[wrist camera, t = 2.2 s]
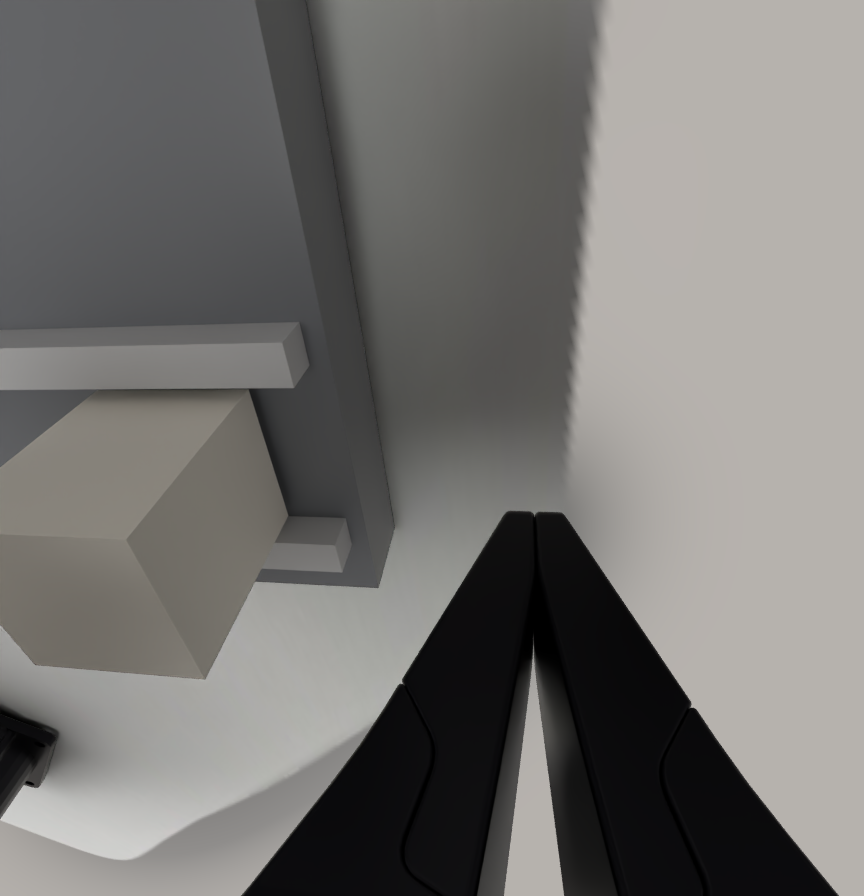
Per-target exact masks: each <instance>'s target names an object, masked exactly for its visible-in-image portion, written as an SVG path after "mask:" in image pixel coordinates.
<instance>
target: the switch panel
mask: <svg viewBox="0 0 864 896" xmlns="http://www.w3.org/2000/svg"><path fill="white" fill-rule="evenodd" d="M222 389H249V393H250V396H251V399H252V402H253V405H254V408H255V412H256V415H257V418H258V421H259V424H260V427H261V431H262V434H263V437H264V440H265V443H266V446H267V450H268V453H269V456H270V459H271V462H272V465H273V468H274V472H275V475H276V478H277V481H278V484H279V487H280V491H281V494H282V497H283V500H284V503H285V506H286V510H287V513H288V517H287V519H286V521H285V523H284V525H283V527H282V529H281V531H280V533H279V535H278V537H277V539H276V541H275V543H274V545H273V547H272V549H271V551H270V553H269V555H268V557H267V559H266V561H265V563H264V565H263V567H262V569H261V570H260V572H259V574H258V576H257V578H256V580H255V581H256V582H275V583H294V584H312V585H331V586H350V587H369V588H379V584H380V580H381V577H382V573H383V569H384V566H385V562H386V558H387V555H388V551H389V547H390V544H391V540H392V536H393V533H394V529H395V527H394V521H393V515H392V509H391V503H390V497H389V492H388V486H387V480H386V474H385V468H384V462H383V456H382V450H381V444H380V438H379V432H378V426H377V420H376V414H375V409H374V403H373V397H372V391H371V385H370V379H369V373H368V367H367V361H366V355H365V349H364V343H363V337H362V332H361V326H360V320H359V314H358V308H357V302H356V296H355V290H354V284H353V278H352V272H351V266H350V260H349V255H348V249H347V243H346V237H345V231H344V225H343V219H342V213H341V207H340V201H339V195H338V189H337V183H336V177H335V172H334V166H333V160H332V154H331V148H330V142H329V136H328V130H327V124H326V118H325V112H324V106H323V100H322V95H321V89H320V83H319V77H318V71H317V65H316V59H315V53H314V47H313V41H312V35H311V29H310V23H309V17H308V12H307V6H306V0H0V467H1V466H2V465H4V464H5V463H6V462H8V461H9V460H10V459H11V458H13V457H14V456H15V455H16V454H18V453H19V452H20V451H21V450H23V449H24V448H25V447H26V446H28V445H29V444H30V443H31V442H33V441H34V440H35V439H36V438H38V437H39V436H40V435H41V434H43V433H44V432H45V431H46V430H48V429H49V428H50V427H52V426H53V425H54V424H55V423H57V422H58V421H59V420H60V419H62V418H63V417H64V416H65V415H67V414H68V413H69V412H70V411H72V410H73V409H74V408H75V407H77V406H78V405H79V404H80V403H82V402H83V401H84V400H85V399H87V398H88V397H89V396H91V395H92V394H93V393H94V392H96V391H97V390H222Z"/></svg>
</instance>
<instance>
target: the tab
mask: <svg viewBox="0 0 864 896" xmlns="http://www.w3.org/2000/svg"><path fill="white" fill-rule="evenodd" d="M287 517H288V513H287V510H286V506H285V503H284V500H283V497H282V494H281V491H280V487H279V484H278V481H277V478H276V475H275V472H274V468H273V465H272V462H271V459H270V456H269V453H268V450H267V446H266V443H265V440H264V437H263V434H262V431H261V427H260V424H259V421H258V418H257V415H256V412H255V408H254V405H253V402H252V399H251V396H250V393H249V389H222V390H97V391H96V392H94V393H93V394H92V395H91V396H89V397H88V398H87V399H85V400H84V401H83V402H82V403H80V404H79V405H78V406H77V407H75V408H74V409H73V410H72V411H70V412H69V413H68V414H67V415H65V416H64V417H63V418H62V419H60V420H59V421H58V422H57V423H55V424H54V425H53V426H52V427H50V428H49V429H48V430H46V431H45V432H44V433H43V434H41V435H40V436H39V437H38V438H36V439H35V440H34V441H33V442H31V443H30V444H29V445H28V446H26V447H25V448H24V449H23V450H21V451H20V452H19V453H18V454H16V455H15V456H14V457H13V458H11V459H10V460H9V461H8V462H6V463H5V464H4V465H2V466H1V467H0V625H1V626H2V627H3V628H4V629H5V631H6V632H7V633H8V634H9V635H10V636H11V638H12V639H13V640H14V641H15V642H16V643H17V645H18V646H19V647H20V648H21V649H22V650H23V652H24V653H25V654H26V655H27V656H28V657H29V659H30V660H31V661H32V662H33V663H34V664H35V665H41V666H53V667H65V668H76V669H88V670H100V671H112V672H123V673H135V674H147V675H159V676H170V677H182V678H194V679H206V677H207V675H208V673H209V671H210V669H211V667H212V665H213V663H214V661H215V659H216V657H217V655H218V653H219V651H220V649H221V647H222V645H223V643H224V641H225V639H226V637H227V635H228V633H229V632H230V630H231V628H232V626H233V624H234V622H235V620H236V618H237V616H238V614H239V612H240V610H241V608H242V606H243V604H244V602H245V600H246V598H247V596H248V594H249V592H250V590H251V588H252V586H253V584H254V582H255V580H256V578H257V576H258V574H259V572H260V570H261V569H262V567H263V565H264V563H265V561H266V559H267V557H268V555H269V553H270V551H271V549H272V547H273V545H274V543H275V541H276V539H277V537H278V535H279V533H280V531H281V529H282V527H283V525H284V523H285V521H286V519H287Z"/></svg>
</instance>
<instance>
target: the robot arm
mask: <svg viewBox="0 0 864 896" xmlns="http://www.w3.org/2000/svg"><path fill="white" fill-rule="evenodd" d="M533 645H534V662H535V672H536V681H537V689H538V695H539V704H540V711H541V720H542V727H543V735H544V743H545V750H546V758H547V766H548V774H549V781H550V789H551V797H552V805H553V812H554V819H555V828H556V835H557V843H558V851H559V858H560V867H561V874H562V882H563V890H564V896H839V895H838V894H837V893H836V892H835V891H834V889H833V888H832V887H831V886H830V884H829V883H828V882H827V881H826V880H825V878H824V877H823V876H822V875H821V874H820V872H819V871H818V870H817V869H816V867H815V866H814V865H813V864H812V862H811V861H810V860H809V859H808V858H807V856H806V855H805V854H804V853H803V852H802V850H801V849H800V848H799V847H798V845H797V844H796V843H795V842H794V841H793V839H792V838H791V837H790V836H789V835H788V833H787V832H786V831H785V829H784V828H783V827H782V826H781V824H780V823H779V822H778V821H777V819H776V818H775V817H774V815H773V814H772V813H771V812H770V810H769V809H768V808H767V807H766V805H765V804H764V803H763V802H762V800H761V799H760V798H759V796H758V795H757V794H756V793H755V791H754V790H753V789H752V788H751V787H750V785H749V784H748V782H747V781H746V780H745V778H744V777H743V776H742V774H741V773H740V771H739V770H738V769H737V767H736V766H735V764H734V763H733V762H732V760H731V759H730V757H729V756H728V755H727V753H726V752H725V750H724V749H723V748H722V746H721V745H720V744H719V742H718V741H717V739H716V738H715V736H714V735H713V733H712V732H711V730H710V729H709V728H708V726H707V724H706V723H705V721H704V720H703V718H702V717H701V715H700V714H699V713H698V711H697V710H696V709H695V708H690V707H691V701H690V700H689V698H688V697H687V695H686V694H685V692H684V691H683V689H682V688H681V686H680V685H679V684H678V682H677V681H676V679H675V678H674V676H673V675H672V673H671V672H670V670H669V669H668V667H667V666H666V664H665V663H664V661H663V660H662V658H661V657H660V656H659V654H658V652H657V651H656V649H655V648H654V647H653V645H652V644H651V642H650V641H649V639H648V638H647V636H646V635H645V633H644V632H643V630H642V629H641V627H640V626H639V624H638V623H637V621H636V620H635V618H634V617H633V615H632V614H631V613H630V611H629V610H628V608H627V607H626V605H625V604H624V602H623V601H622V599H621V598H620V596H619V595H618V593H617V592H616V591H615V589H614V587H613V586H612V585H611V583H610V581H609V580H608V579H607V577H606V576H605V574H604V573H603V571H602V570H601V568H600V567H599V565H598V564H597V562H596V561H595V559H594V558H593V556H592V555H591V554H590V552H589V550H588V549H587V548H586V546H585V545H584V543H583V542H582V540H581V539H580V537H579V536H578V534H577V533H576V531H575V530H574V528H573V527H572V525H571V524H570V522H569V521H568V519H567V518H566V517H565V515H564V514H562V513H560V512H537V513H536V514H535V517H534V514H533V513H532V512H530V511H508V512H506V513H505V514H504V516H503V517H502V519H501V521H500V522H499V524H498V525H497V527H496V529H495V530H494V532H493V533H492V535H491V537H490V538H489V540H488V542H487V543H486V545H485V546H484V548H483V550H482V551H481V553H480V554H479V556H478V558H477V559H476V561H475V563H474V564H473V566H472V567H471V569H470V571H469V572H468V574H467V575H466V577H465V579H464V580H463V582H462V584H461V585H460V587H459V588H458V590H457V592H456V593H455V595H454V596H453V598H452V600H451V601H450V603H449V605H448V606H447V608H446V609H445V611H444V613H443V614H442V616H441V617H440V619H439V621H438V622H437V624H436V626H435V627H434V629H433V630H432V632H431V634H430V635H429V637H428V639H427V640H426V642H425V643H424V645H423V647H422V648H421V650H420V651H419V653H418V655H417V656H416V658H415V660H414V661H413V663H412V664H411V666H410V668H409V669H408V671H407V672H406V674H405V676H404V677H403V679H402V683H403V684H399V685H398V686H397V688H396V690H395V691H394V693H393V695H392V696H391V698H390V699H389V701H388V703H387V704H386V706H385V707H384V709H383V711H382V712H381V714H380V715H379V717H378V718H377V720H376V721H375V723H374V724H373V726H372V727H371V729H370V730H369V732H368V733H367V735H366V736H365V738H364V739H363V741H362V742H361V744H360V745H359V747H358V748H357V749H356V750H355V752H354V753H353V755H352V756H351V757H350V759H349V760H348V761H347V763H346V764H345V765H344V766H343V768H342V769H341V770H340V772H339V773H338V774H337V776H336V777H335V779H334V780H333V781H332V782H331V784H330V785H329V786H328V788H327V789H326V790H325V791H324V793H323V794H322V795H321V796H320V798H319V799H318V800H317V802H316V803H315V804H314V805H313V806H312V808H311V809H310V810H309V812H308V813H307V814H306V815H305V817H304V818H303V819H302V820H301V822H300V823H299V824H298V825H297V827H296V828H295V829H294V830H293V832H292V833H291V834H290V836H289V837H288V838H287V839H286V841H285V842H284V843H283V845H282V846H281V847H280V848H279V849H278V851H277V852H276V853H275V854H274V856H273V857H272V858H271V859H270V861H269V862H268V863H267V864H266V866H265V867H264V868H263V870H262V871H261V872H260V873H259V875H258V876H257V877H256V878H255V880H254V881H253V882H252V883H251V885H250V886H249V887H248V888H247V889H246V891H245V892H244V893H243V894H242V895H241V896H504V888H505V881H506V873H507V865H508V857H509V849H510V841H511V832H512V824H513V816H514V808H515V800H516V792H517V784H518V776H519V768H520V759H521V751H522V743H523V735H524V727H525V719H526V711H527V703H528V695H529V687H530V679H531V669H532V659H533ZM56 741H57V738H56V737H55V736H54V735H53V734H51V733H49V732H46V731H44V730H41V729H38V728H36V727H33V726H30V725H28V724H25V723H22V722H20V721H17V720H14V719H12V718H9V717H6V716H4V715H1V714H0V819H1V817H2V816H3V814H4V813H5V811H6V810H7V808H8V807H9V806H10V804H11V803H12V801H13V800H14V798H15V797H16V795H17V794H18V792H19V791H20V789H21V788H22V786H23V785H27V786H30V787H34V788H38V787H39V786H40V785H41V783H42V782H43V780H44V779H45V776H46V773H47V770H48V766H49V763H50V760H51V757H52V754H53V750H54V747H55V744H56Z"/></svg>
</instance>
